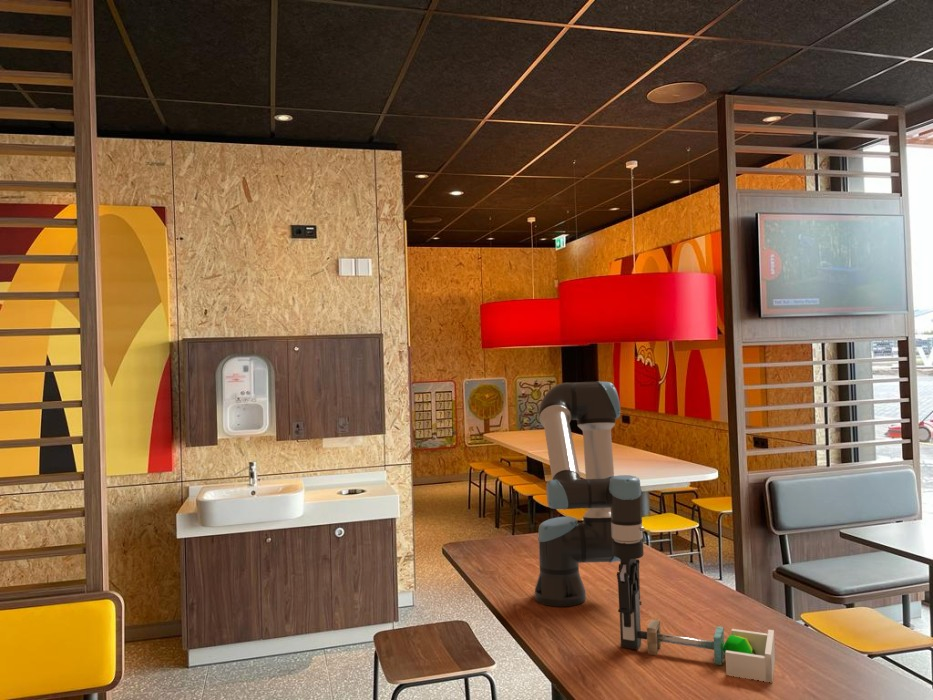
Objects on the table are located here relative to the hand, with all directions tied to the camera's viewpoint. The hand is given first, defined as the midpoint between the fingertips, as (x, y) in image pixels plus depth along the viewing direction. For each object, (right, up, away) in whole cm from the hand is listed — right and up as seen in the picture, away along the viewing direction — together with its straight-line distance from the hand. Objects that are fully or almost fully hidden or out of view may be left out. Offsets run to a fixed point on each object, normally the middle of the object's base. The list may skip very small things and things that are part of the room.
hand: (631, 635), depth 163 cm
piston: (+9, -2, -4) cm, 10 cm away
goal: (+24, -1, -12) cm, 27 cm away
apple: (+23, -2, -10) cm, 25 cm away
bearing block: (+5, -2, -3) cm, 6 cm away
